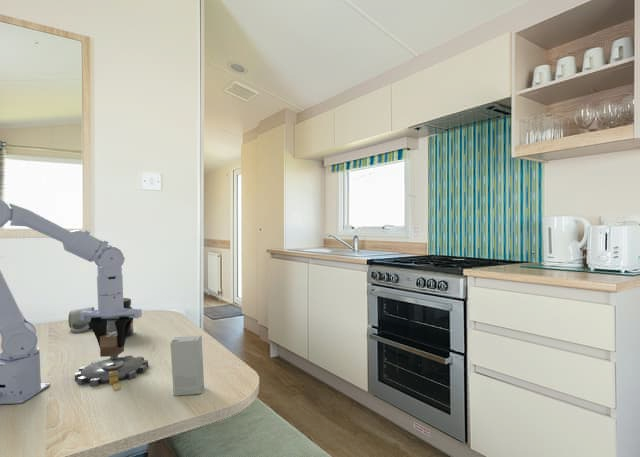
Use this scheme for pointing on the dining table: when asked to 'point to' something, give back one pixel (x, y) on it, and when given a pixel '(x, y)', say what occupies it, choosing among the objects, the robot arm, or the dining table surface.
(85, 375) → the sprocket
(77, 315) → the ceramic mug
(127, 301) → the supplement container
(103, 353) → the walnut block
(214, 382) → the dining table surface
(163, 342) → the dining table surface
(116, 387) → the pointer
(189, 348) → the skincare box
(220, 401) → the dining table surface
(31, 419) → the dining table surface
